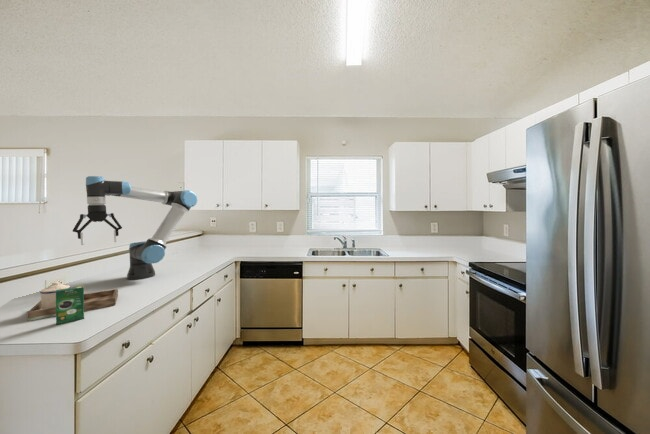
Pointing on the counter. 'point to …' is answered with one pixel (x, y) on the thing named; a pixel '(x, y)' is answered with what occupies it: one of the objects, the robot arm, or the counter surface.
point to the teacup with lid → (51, 295)
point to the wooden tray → (90, 302)
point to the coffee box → (69, 304)
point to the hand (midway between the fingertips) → (99, 243)
